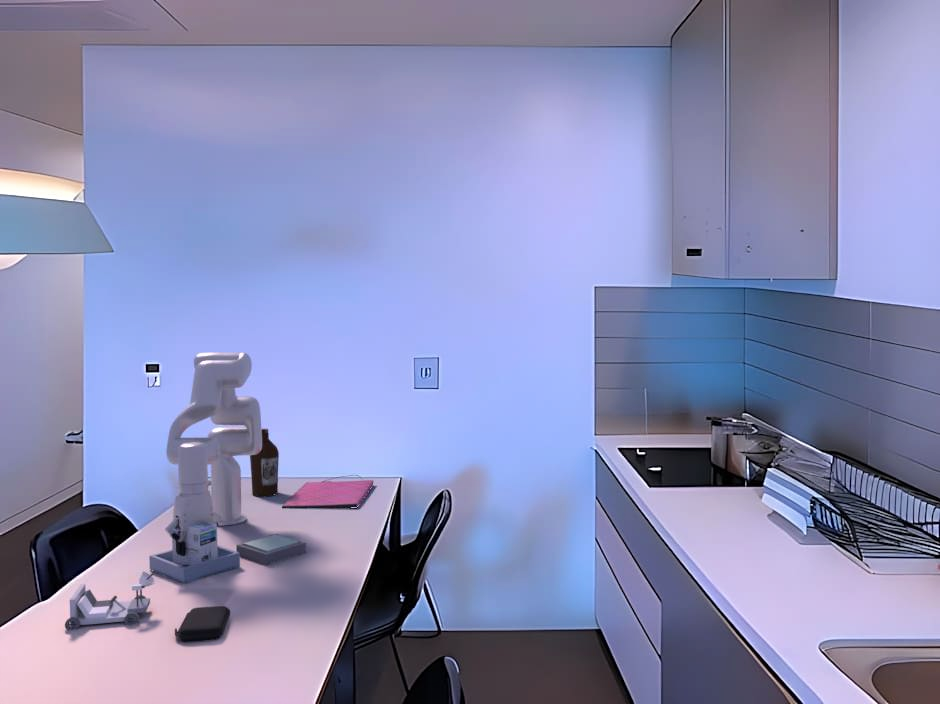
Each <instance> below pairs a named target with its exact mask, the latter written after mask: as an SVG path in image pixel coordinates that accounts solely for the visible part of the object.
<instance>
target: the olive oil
mask: <svg viewBox="0 0 940 704" xmlns="http://www.w3.org/2000/svg"><path fill="white" fill-rule="evenodd" d="M261 429H262V448H261V451H260V452H259V453H258V454H256V455H249V460H250V473H251V474H250V476H251V492H252V495H253V496H254V497H259V498H260V497H261V498H262V497H264V496H266V497H271V496H270V495H273V496H275V495H274V494H276V495H278V493H279V490H278V489H279V486H278V483H279V457H280V456H279V455H280V454H279V450H278V447H277V446H276V444H274V443H273V442H272V441H271V440H270V438H269V435H270V434H269V429H268V428H261ZM264 498H265V497H264Z"/></svg>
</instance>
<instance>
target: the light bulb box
mask: <svg viewBox="0 0 940 704" xmlns="http://www.w3.org/2000/svg"><path fill="white" fill-rule="evenodd" d="M177 527H179V525H177V526H176V527H175V528H176V529H177V530H178V528H177ZM176 529H173V531H174V532H175V533H176V532H177V530H176ZM180 529H181V528H180ZM171 538H172V537H171ZM183 541H185V556H181V555H178V554H177V552H176V541H175V540H174V539H173V538H172V539H171V542H172V543H171V545H172V548H171V550H172V551H173V562H176V563H181V564H186V565H194V564H198V563H201V562H205V561H208V560H212V559H215V558H218V548H217V545H218V526H217V523H212V522H208V523H204V524H199V525H195V526H191V527H189V531H188V532H187V533H186V535H185V537H184V539H183Z"/></svg>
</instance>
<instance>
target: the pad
mask: <svg viewBox="0 0 940 704" xmlns="http://www.w3.org/2000/svg"><path fill="white" fill-rule="evenodd" d="M271 535H272V536H270V535H267V536H268V537H266V536H264V537H265V538H263V537H260V538H261V539H259V538H257V539H258V540H256V539H253V540H254V541H252V540H250V541H251V542H248V541H246V542H247V543H245V542H243V543H244V546H247V547H250V548H253V549H256V550H259V551H262V552H266V553H269V552H272V551H275V550H279V549H282V548H285V547H289V546H292V545H295V544H299V543H298V541H295V540H296V539H295V540H291V539H288V538H285V537H286V536H285V537H281V536H278V535H279V534H278V535H273V534H271Z"/></svg>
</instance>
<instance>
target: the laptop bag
mask: <svg viewBox="0 0 940 704" xmlns="http://www.w3.org/2000/svg"><path fill="white" fill-rule="evenodd" d="M351 476H354V474H352V475H351V474H350V475H348V477H351ZM355 476H356V477H359V478H361V476H360V475H358V474H355ZM343 477H345V478H346V475H343V476H341V478H343ZM339 478H340V476H337V477H336V479H339ZM334 479H335V477H333V478H330V479H327V480H323V481H309V482H308V481H307V482H306V483H305V484H303V485H302V486H301V487H300V488H299V489H298V490H297V491H295V492H294V494H292V495H291V496H290V497H289V498H288V499H287V500H286V501H285V502H284V503H283V504H282V505H281V508H282V509H307V508H351V507H357V506H358V505H359V504H360V503H361V501H362V500H363V499H364V497H365V496H366V494H367V493H368V491H369V490H370V488H371V487H372V485H373V483H374V480H373V479H372V480H369V479H367V480H349V481H348V480H347V481H344V480H343V481H330V480H334ZM373 486H374V485H373ZM372 488H373V487H372ZM370 491H371V490H370ZM368 494H369V493H368ZM366 497H367V496H366ZM366 497H365V498H366ZM364 500H365V499H364ZM364 500H363V501H364ZM361 504H362V503H361ZM361 504H360V505H361Z"/></svg>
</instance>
